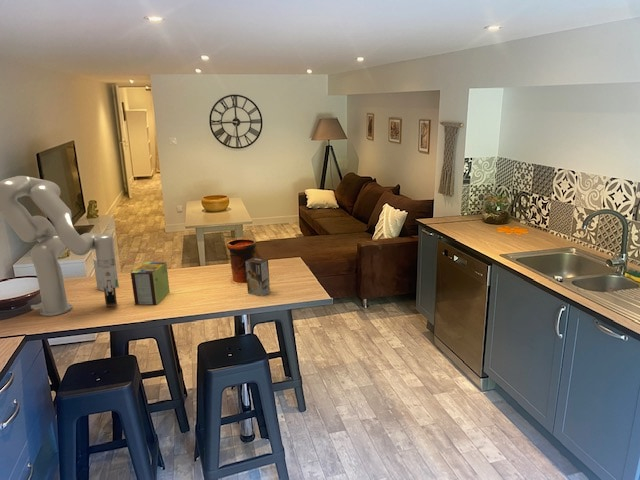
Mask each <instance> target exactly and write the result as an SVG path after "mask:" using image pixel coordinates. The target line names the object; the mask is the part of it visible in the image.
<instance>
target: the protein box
mask: <svg viewBox="0 0 640 480" xmlns="http://www.w3.org/2000/svg"><path fill="white" fill-rule="evenodd" d="M130 279H131V285H132V286H131V287H132V291H133V298H134V305H138V306H139V305H140V306H141V305H142V306H143V305H144V306H146V305H147V306H157V305H158V304H159V303H160V302H161V301H162V300H164V298H166V297H167V296H168V295H169V294H170V293H171V291H170V282H169V274H168V265H167V262H166V261H145V262H143V263H142V264H141V265H139V266H138V267H137V268H135V269H134V270H132V271H131V272H130Z"/></svg>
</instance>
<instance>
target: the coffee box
mask: <svg viewBox="0 0 640 480" xmlns="http://www.w3.org/2000/svg"><path fill="white" fill-rule="evenodd" d="M245 262H246V275H247V284H246V285H247V286H246V287H247V293H248V294H251V295H256V296H261V297H264V296H265V295H268V294H269V293H271V288H270V284H271V283H270V273H269V270H270V269H269V259H265V258H257V257H254V258H251V259H249V260H247V261H245Z"/></svg>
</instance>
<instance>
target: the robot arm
mask: <svg viewBox="0 0 640 480" xmlns="http://www.w3.org/2000/svg"><path fill="white" fill-rule="evenodd" d="M61 191H62V190H61V188H60V186H59V185H58V184H57V183H55V182H53V181H50V180H47V179H41V178H37V177H31V176H27V175H16V176H13V177H9V178H5V179H2V180H1V181H0V214H1V215H2V217H3V218H4V219H5V220H6V222H7V223H8V224H9V226H10V227H11V228H12V230H13V231H14V233H16V235H17V236H18V237H19V239H20V240H22V241H23V242H26V243H33V242H36V241H37V242H38V243H36V244H35V245H34V246H33V247H32V249H31V250H30V258H31V259H30V260H31V261H32V264H33V266H34V268H35V269H34V270H35V273H36V279H37V283H38V287H39V293H40V294H39V295H40V298H41V302H39V303H38V304H31V305H30V309H31V310H33V311H35V312H36V311H39V315H41V316H44V317H54V316H59V315H63V314H65V313H67V312H69V311H71V310H72V309H73V305H72V304H71V303H70V302H68V298H67V293H66V287H65V282H64V277H63V276H64V275H63V271H62V267H61V264H60V263H59V260H58V258H59V257H61V256H63V254H64V253H65V252H66V250H67V249H68V250H69V251H70V252H71V253H72V254H73V255H76V256H78V257H79V256H80V257H81V256H85V255H87V254H88V253H90V252H91V251H93V250H95V251H94V252H95V259H96V260H97V267H99V268H101V275H102V280H103V285H104V289H106V292H107V295H106V297H107V304H111V303H115V296H114V293H113V288H115V289H117V288H116V279H115V271H114V266H115V265H116V266H117V262H116V261H117V260H116V252H115V243H114V236H113V235H112V234H110V233H92V232H84V233H83V234H80V233H78V231H77V230H76V228H75V227H74V225H73V221H72V211H71V209H70V208H69V207H68V206H67V204H66V203H65V202H64V201H63V200H62V198H60V196H61ZM25 196H26V197H30V199H31V200H32V201H33V203H34V204H35V205H36V206H37V207H38V208H39V209H40V210H41V212H42V213H43V214H44V215H45V216H46V217H47V218H48V219H49V220H48V219H47V218H46V217H44V216H42V215H33V216H32V215H31V213H30V212H29V211H28V209H27V208H26V207H25V206H24V205H23V204H21V203H20V202H19V201H18V198H22V197H25ZM66 248H67V249H66ZM107 287H108V288H107ZM111 287H112V288H111ZM111 289H112V290H111Z"/></svg>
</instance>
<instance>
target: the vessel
mask: <svg viewBox="0 0 640 480" xmlns="http://www.w3.org/2000/svg"><path fill="white" fill-rule="evenodd" d="M256 246H257V243H256V241H255V240H253V239H250V238H237V239H231V240H229V241H227V243H226V248H227V249H228V250H229V254H230V255H229V256H230V257H229V259H230V265H231V266H230V268H231V273H232V274H231V275H232V278H231V279H230V280H231V282H232V283H233V284H236V285H247V275H246V262H245V261H247V260H249V259H251V258H255V257H254V255H255V253H256V251H255V249H256Z"/></svg>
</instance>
